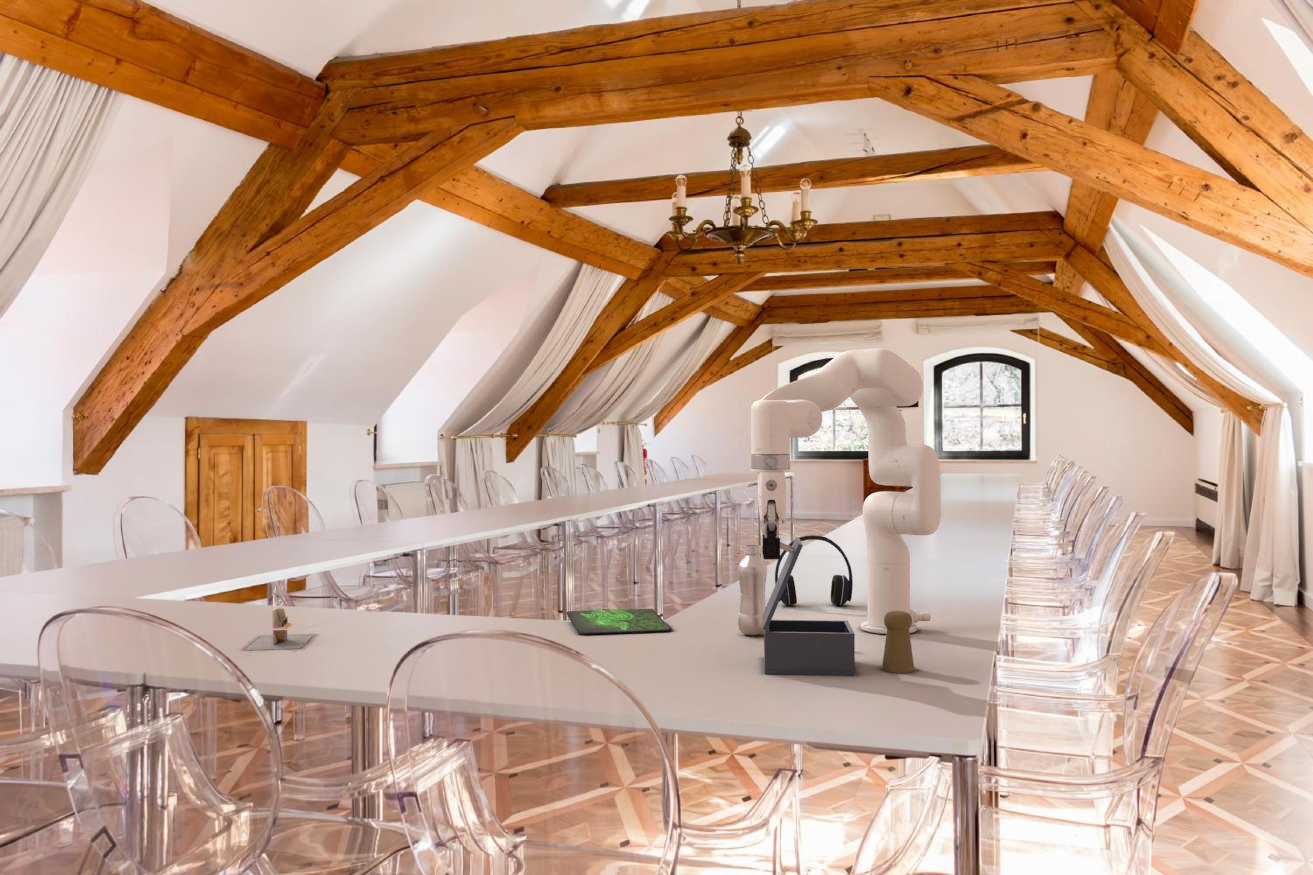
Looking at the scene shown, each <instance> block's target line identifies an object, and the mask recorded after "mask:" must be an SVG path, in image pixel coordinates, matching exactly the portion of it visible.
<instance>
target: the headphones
mask: <svg viewBox="0 0 1313 875" xmlns="http://www.w3.org/2000/svg"><path fill="white" fill-rule="evenodd" d="M798 538H800V540H801V542H805V541H812V540H815V541H823V542H826V543H828V544H830V545H832V546H833V547H834V548H835V549H836V550H838V552H839V553H840V554H841V556H842V558H843V559H844V562H845V564H846V566H847V571H848V578H847V576H846V575H844V574H842V575H841V574H834V575H833V576H832V580H831V585H830V586H831V587H830V603H831V604H832V605H835V606H842V607H843V606H844V605H845V604H846V603H848V602H849V603H850V602H851V601H852V596H853V586H854V585H853V572H852V568H851V567H852V566H851V563H850V562H849V561H850V560H849V559H848V557H847V555H846V554H845V552H844V550H843V549H842V548H841V547H840V545H838V543H836V542H835V541H833V540H832V539H830V538H828V537H826V536H822V535H816V534H815V535H814V534H810V535H803V536H800V537H798ZM793 542H794V540H792V541H791V542H789V544H788V545H789V546H791V547H792V545H793ZM787 553H788V552H787V551H785V550H783V549H782V552H781V553H780V559H777V562H776V565H775V570H774V586H775V585H776V583H777V580H778V578H779V570H780V565H781V562H782V560H783V558H784V556H785V555H786V554H787ZM797 598H798V597H797V590H796V584H795V579H794V576H793V575H792V574H791V575H790V577H789V579H788V582H787V584H786V586H785V589H784V591H783V594H782V596H781V598H780V601H779V603H780V602H781V603H782V604H784V606H786V607H788V606H794V605H796V604H797V603H798V599H797Z"/></svg>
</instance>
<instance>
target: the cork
mask: <svg viewBox="0 0 1313 875" xmlns="http://www.w3.org/2000/svg"><path fill="white" fill-rule="evenodd" d="M884 623H885V626H886V627H887V633H886V634H885V642H884V650H883V658H882V665H881V669H882V671H885V672H888V673H894V674H895V673H896V674H906V673H907V674H908V673H912V672H913V673H914V671H915V664H914V663H915V662H914V656H913V649H912V642H911V633H909V629H910V627H911V625H912V617H911V616H910V614H909V613H907V612H903V611H891V612H888V613H886V615H885V617H884Z"/></svg>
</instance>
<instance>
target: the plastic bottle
mask: <svg viewBox="0 0 1313 875" xmlns="http://www.w3.org/2000/svg"><path fill="white" fill-rule="evenodd" d="M743 554H744V556H743V558H742V559H741V561H740V562H739V564H738V566H737V574H738V575H737V577H738V582H739V583H738V584H739V592H740V603H739V604H740V605H739V615H738V619H737V620H738V621H737V624H738V630H739V631H740V633H741V634H744V635H749V636H759V635H764V629H763V623H762V616H763V613H764V611H765V608H766V606H767V605H766V594H765V593H766V585H767V584H766V583H767V576H768V575H767V574H768V567H767V564H766V562H764V559H763V557H761V554H762V545H760V544H744V546H743Z"/></svg>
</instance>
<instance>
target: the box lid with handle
mask: <svg viewBox="0 0 1313 875" xmlns="http://www.w3.org/2000/svg"><path fill="white" fill-rule="evenodd" d="M793 541H794V542H793V545H792V547H791V546H789V544H786V543H785V542H782V541H780V550H782V551H783V550H785V551H787V552H786V553H788V554H787V558H785V561H784V564H783V566H782V569H781V571H780V574H778V580H777V583H776V585H775V584H774V588H773V590H772V592H771V594H770V597H769V599H768V602H767V604H766V605H765V606H766V608H765V611H764V613H763V616H762V623H763V629H764V630H766V631H767V629H768V626H769V624H770V622H771V620H773V617H774V614H775V612H776V610H777V608H778V606H779V604H780V602H781V601H780V598H781V596H782V594H783V591H784V589H785V586H786V584H787V582H788V579H789V577H790V575H792V572H793V570H794V567H795V565H796V563H797V560H798V559H799V555H800V553H801V551H802V548H803V546H804V545H803V541H801V540H800V538H799V537H798V536H795V538H794V539H793ZM779 601H780V602H779Z"/></svg>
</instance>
